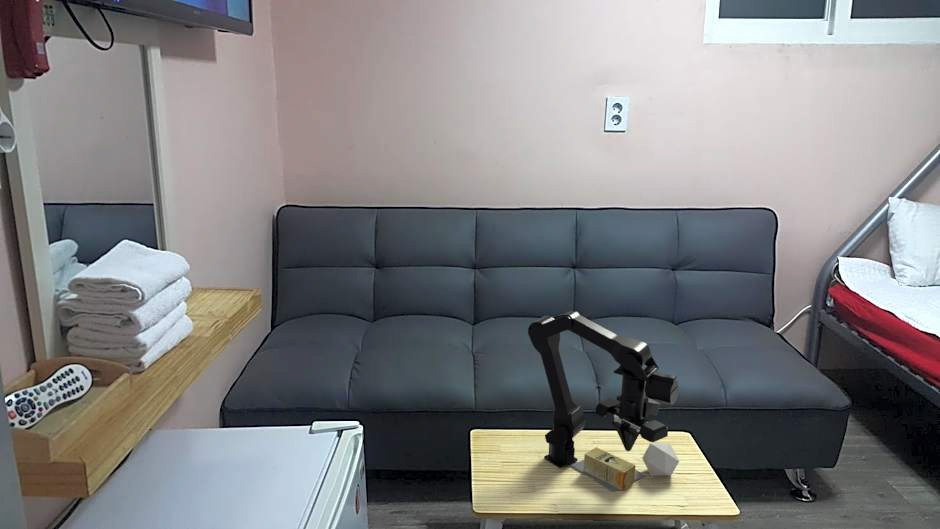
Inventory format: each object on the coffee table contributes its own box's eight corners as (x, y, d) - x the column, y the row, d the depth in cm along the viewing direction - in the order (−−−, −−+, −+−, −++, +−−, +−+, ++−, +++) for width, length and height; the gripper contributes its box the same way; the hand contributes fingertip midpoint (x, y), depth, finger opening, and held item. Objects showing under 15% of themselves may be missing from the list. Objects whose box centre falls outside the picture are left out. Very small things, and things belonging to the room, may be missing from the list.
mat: (571, 466, 186) (571, 465, 186) (603, 452, 193) (603, 451, 193) (612, 491, 175) (612, 490, 175) (645, 476, 182) (645, 475, 182)
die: (670, 488, 178) (689, 454, 179) (640, 469, 178) (660, 436, 179) (661, 481, 186) (679, 449, 187) (632, 464, 186) (651, 432, 187)
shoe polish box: (635, 465, 177) (596, 447, 185) (623, 472, 174) (584, 453, 182) (634, 482, 178) (595, 464, 187) (622, 490, 175) (583, 471, 183)
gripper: (685, 398, 170) (679, 456, 174) (626, 372, 185) (621, 426, 189) (654, 410, 164) (649, 470, 168) (595, 382, 178) (592, 438, 182)
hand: (628, 450), depth 177 cm, fingers closed
